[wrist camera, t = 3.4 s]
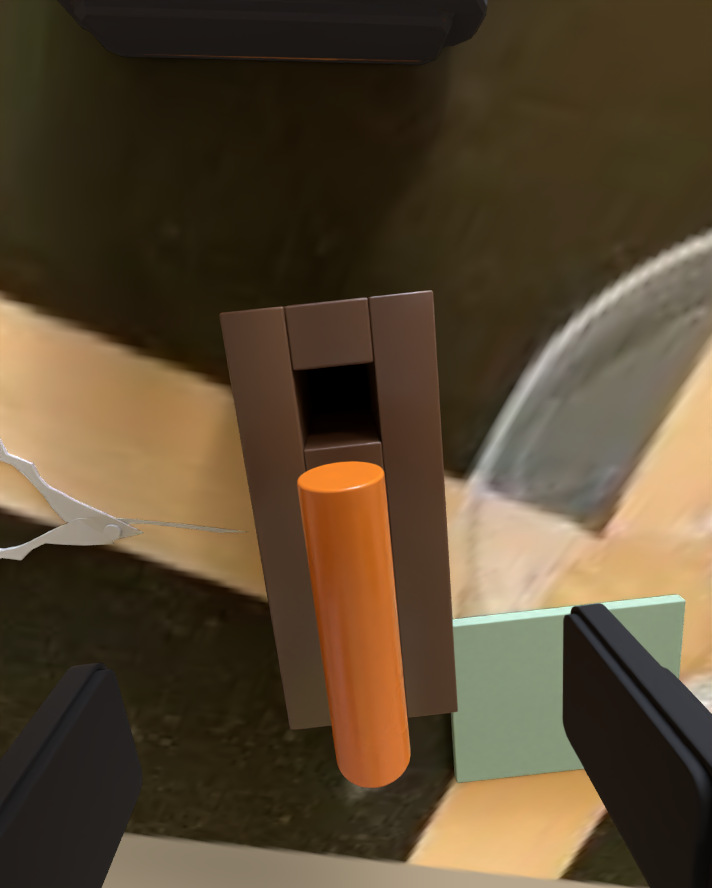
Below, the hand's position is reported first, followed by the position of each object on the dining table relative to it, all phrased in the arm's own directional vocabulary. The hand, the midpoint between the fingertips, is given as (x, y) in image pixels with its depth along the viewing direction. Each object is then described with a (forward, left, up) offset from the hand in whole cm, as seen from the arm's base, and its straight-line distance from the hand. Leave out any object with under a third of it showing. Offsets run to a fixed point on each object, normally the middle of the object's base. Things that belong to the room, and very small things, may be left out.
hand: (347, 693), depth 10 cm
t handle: (0, 0, -13) cm, 13 cm away
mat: (-10, +13, -13) cm, 21 cm away
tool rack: (0, 0, -13) cm, 13 cm away
